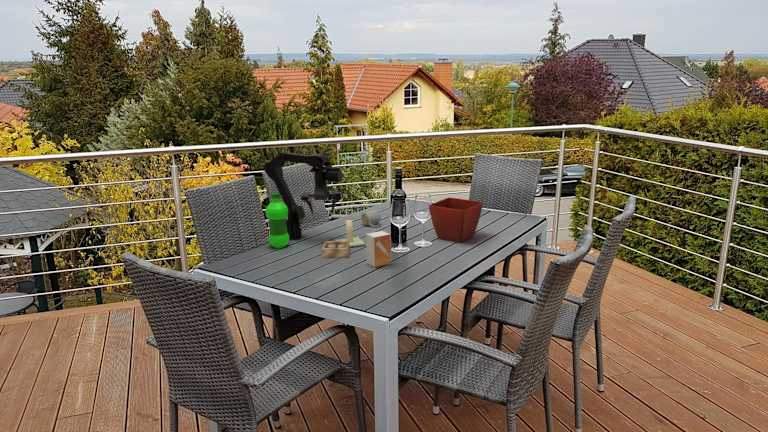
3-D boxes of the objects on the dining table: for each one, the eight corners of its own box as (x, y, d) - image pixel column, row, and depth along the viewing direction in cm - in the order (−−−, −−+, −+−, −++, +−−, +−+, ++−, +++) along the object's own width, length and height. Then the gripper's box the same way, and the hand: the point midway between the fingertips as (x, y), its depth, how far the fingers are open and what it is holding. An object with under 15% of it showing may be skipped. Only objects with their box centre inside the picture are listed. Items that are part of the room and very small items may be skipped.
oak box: (322, 257, 237) (322, 249, 236) (325, 249, 248) (325, 241, 247) (348, 257, 237) (347, 248, 236) (349, 249, 248) (349, 240, 247)
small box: (374, 267, 223) (373, 237, 220) (366, 263, 228) (365, 233, 225) (391, 263, 228) (390, 233, 224) (382, 259, 233) (382, 230, 229)
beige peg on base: (342, 249, 248) (341, 225, 245) (334, 242, 258) (333, 219, 256) (365, 246, 252) (364, 222, 249) (357, 239, 263) (356, 216, 260)
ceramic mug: (360, 224, 288) (360, 210, 286) (373, 221, 293) (373, 208, 290) (371, 229, 280) (370, 214, 278) (384, 226, 284) (384, 212, 282)
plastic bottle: (263, 248, 252) (259, 195, 246) (278, 241, 261) (274, 190, 255) (281, 250, 248) (276, 197, 241) (295, 244, 257) (291, 192, 250)
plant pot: (463, 246, 248) (463, 210, 244) (427, 239, 260) (427, 204, 255) (483, 236, 263) (483, 201, 259) (448, 230, 274) (448, 197, 270)
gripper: (297, 185, 247) (300, 218, 251) (339, 184, 247) (340, 217, 251) (301, 180, 258) (303, 212, 262) (341, 179, 258) (342, 211, 262)
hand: (322, 213), depth 259 cm, fingers open, 9 cm apart
